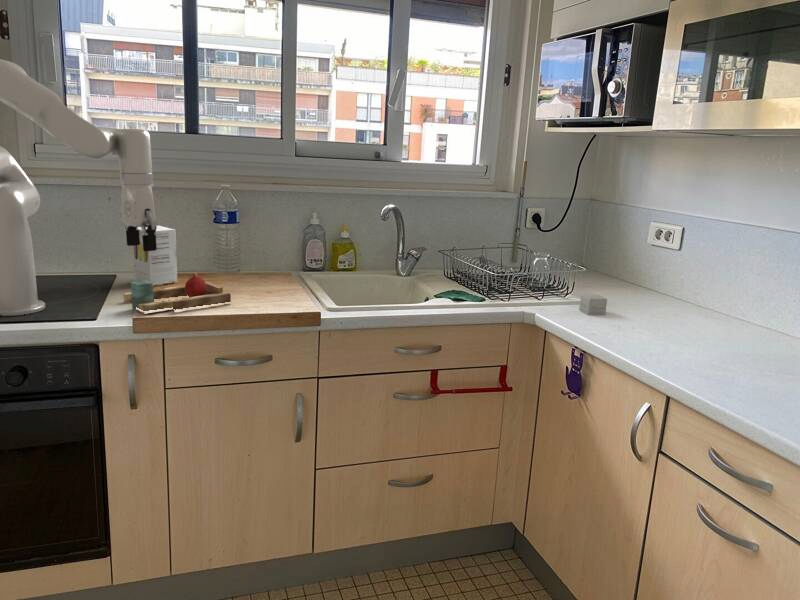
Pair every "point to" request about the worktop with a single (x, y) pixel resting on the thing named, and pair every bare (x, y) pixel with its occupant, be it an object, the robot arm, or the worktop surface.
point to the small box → (593, 304)
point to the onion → (195, 286)
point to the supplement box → (157, 258)
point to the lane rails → (192, 301)
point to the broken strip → (129, 295)
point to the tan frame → (145, 301)
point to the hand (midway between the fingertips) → (141, 247)
